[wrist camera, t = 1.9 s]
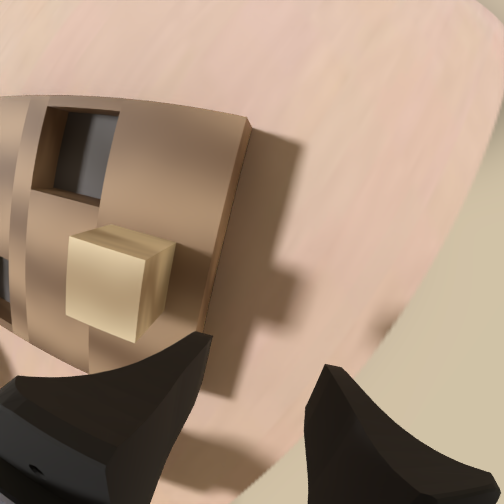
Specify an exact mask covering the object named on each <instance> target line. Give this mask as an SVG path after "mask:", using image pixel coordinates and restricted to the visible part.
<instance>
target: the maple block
mask: <svg viewBox="0 0 504 504" xmlns="http://www.w3.org/2000/svg"><path fill="white" fill-rule="evenodd" d="M175 247H176V242H173V241H170V240H166V239H163V238H159V237H155V236H152V235H148V234H145V233H141V232H137V231H134V230H130V229H127V228H123V227H120V226H116V225H113V224H111V225H107V226H103V227H100V228H96V229H92V230H89V231H85V232H82V233H78V234H75V235H71V236H69V246H68V259H67V276H66V315H68V316H70V317H72V318H74V319H76V320H79V321H81V322H83V323H86V324H88V325H90V326H93V327H95V328H97V329H100V330H102V331H105V332H107V333H110V334H112V335H115V336H117V337H120V338H122V339H125V340H127V341H130V342H133V343H136V342H137V341H138V339H139V338H140V337H141V336H142V335H143V334H144V333H145V332H146V330H147V329H148V328H149V327H150V326H151V325H152V324H153V323H154V321H155V320H156V319H157V318H158V317H159V316H160V315H161V314H162V313H163V311H164V309H165V303H166V297H167V291H168V285H169V279H170V274H171V268H172V263H173V257H174V252H175Z"/></svg>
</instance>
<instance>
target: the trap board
mask: <svg viewBox="0 0 504 504" xmlns="http://www.w3.org/2000/svg"><path fill="white" fill-rule="evenodd" d="M251 130H252V127H251V125H250V123H249V121H248V119H247V117H243V116H239V115H234V114H229V113H224V112H218V111H213V110H207V109H201V108H195V107H189V106H183V105H176V104H168V103H161V102H153V101H144V100H134V99H124V98H111V97H96V96H73V95H25V96H3V97H0V325H1V326H3V327H4V328H6V329H8V330H9V331H11V332H12V333H14V334H16V335H17V336H19V337H20V338H22V339H24V340H25V341H27V342H29V343H31V344H32V345H34V346H36V347H38V348H39V349H41V350H43V351H45V352H47V353H48V354H50V355H52V356H54V357H56V358H58V359H60V360H62V361H63V362H65V363H67V364H69V365H71V366H73V367H75V368H77V369H80V370H82V371H84V372H86V373H88V374H94V373H99V372H104V371H109V370H114V369H117V368H121V367H124V366H127V365H130V364H133V363H136V362H139V361H141V360H143V359H145V358H147V357H150V356H152V355H154V354H156V353H158V352H160V351H162V350H164V349H165V348H167V347H169V346H171V345H173V344H174V343H176V342H178V341H179V340H181V339H183V338H184V337H186V336H187V335H189V334H190V333H192V332H194V331H198V332H201V333H203V329H204V325H205V320H206V316H207V311H208V307H209V302H210V298H211V293H212V289H213V284H214V280H215V276H216V271H217V267H218V263H219V258H220V254H221V250H222V246H223V241H224V237H225V233H226V229H227V225H228V221H229V217H230V213H231V208H232V204H233V200H234V196H235V192H236V188H237V184H238V180H239V177H240V173H241V169H242V165H243V161H244V157H245V153H246V149H247V146H248V142H249V138H250V134H251ZM111 224H113V225H116V226H120V227H123V228H127V229H130V230H134V231H137V232H141V233H145V234H148V235H152V236H155V237H159V238H163V239H166V240H170V241H173V242H176V247H175V252H174V257H173V263H172V268H171V274H170V279H169V285H168V291H167V297H166V303H165V309H164V311H163V313H162V314H161V315H160V316H159V317H158V318H157V319H156V320H155V321H154V323H153V324H152V325H151V326H150V327H149V328H148V329H147V330H146V332H145V333H144V334H143V335H142V336H141V337H140V338H139V339H138V341H137V342H136V343H133V342H130V341H127V340H125V339H122V338H120V337H117V336H115V335H112V334H110V333H107V332H105V331H102V330H100V329H97V328H95V327H93V326H90V325H88V324H86V323H83V322H81V321H79V320H76V319H74V318H72V317H70V316H68V315H66V276H67V259H68V246H69V236H71V235H75V234H78V233H82V232H85V231H89V230H92V229H96V228H100V227H103V226H107V225H111Z"/></svg>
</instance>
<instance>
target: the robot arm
mask: <svg viewBox="0 0 504 504" xmlns="http://www.w3.org/2000/svg"><path fill="white" fill-rule="evenodd" d="M212 337H213V336H211V335H208V334H204V333H201V332H198V331H194V332H192V333H190V334H189V335H187V336H186V337H184V338H183V339H181V340H179V341H178V342H176V343H174V344H173V345H171V346H169V347H167V348H165V349H164V350H162V351H160V352H158V353H156V354H154V355H152V356H150V357H147V358H145V359H143V360H141V361H139V362H136V363H133V364H130V365H127V366H124V367H121V368H117V369H114V370H109V371H104V372H99V373H94V374H89V375H82V376H73V377H28V376H16V377H15V378H14V379H12V380H11V381H10V382H9V383H7V384H6V385H5V386H4V387H3V388H1V389H0V504H150V502H151V499H152V497H153V494H154V491H155V488H156V486H157V483H158V480H159V478H160V475H161V472H162V470H163V467H164V464H165V462H166V459H167V457H168V455H169V453H170V451H171V449H172V447H173V445H174V443H175V441H176V439H177V437H178V435H179V433H180V431H181V429H182V428H183V426H184V424H185V422H186V420H187V418H188V416H189V414H190V412H191V410H192V408H193V406H194V404H195V401H196V398H197V395H198V393H199V390H200V387H201V384H202V381H203V376H204V372H205V367H206V363H207V359H208V354H209V350H210V346H211V341H212ZM304 438H305V448H306V461H307V472H308V504H496V502H497V501H498V499H499V496H500V494H501V492H500V488H499V487H498V485H497V483H496V481H495V479H494V477H493V476H492V474H491V473H490V472H486V471H483V470H480V469H477V468H474V467H471V466H468V465H465V464H463V463H460V462H458V461H456V460H454V459H451V458H449V457H447V456H445V455H443V454H441V453H439V452H437V451H436V450H434V449H432V448H431V447H429V446H427V445H425V444H424V443H422V442H421V441H419V440H418V439H416V438H415V437H413V436H412V435H411V434H409V433H408V432H407V431H405V430H404V429H403V428H402V427H400V426H399V425H398V424H396V423H395V422H394V421H393V420H392V419H391V418H390V417H389V416H388V415H387V414H385V413H384V412H383V411H382V410H381V409H380V408H379V407H378V406H377V405H376V404H375V403H374V402H373V401H372V400H371V398H370V397H369V396H368V395H367V394H366V393H365V392H364V391H363V390H362V389H361V388H360V386H359V385H358V384H357V383H356V382H355V381H354V380H353V379H352V378H351V376H350V375H349V374H348V373H347V372H346V371H345V370H344V369H343V368H342V367H338V366H333V365H328V364H325V365H324V367H323V370H322V372H321V374H320V376H319V379H318V381H317V383H316V385H315V388H314V390H313V392H312V394H311V396H310V399H309V401H308V403H307V405H306V407H305V420H304Z"/></svg>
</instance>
